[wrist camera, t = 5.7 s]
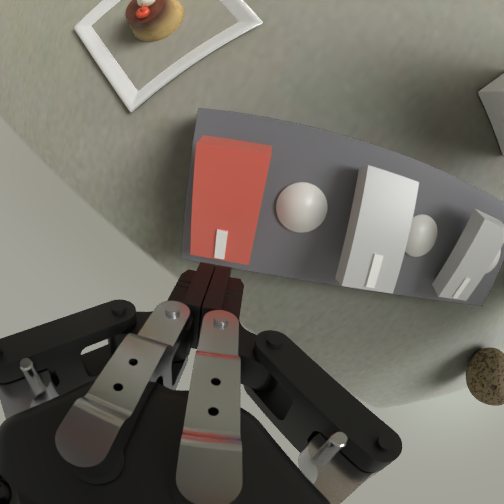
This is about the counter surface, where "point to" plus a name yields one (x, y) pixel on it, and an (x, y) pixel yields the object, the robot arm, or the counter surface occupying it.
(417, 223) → the rocker switch box
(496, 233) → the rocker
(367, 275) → the middle rocker
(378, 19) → the counter surface
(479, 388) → the decorative egg
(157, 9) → the dessert
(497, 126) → the milk carton
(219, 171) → the red rocker
